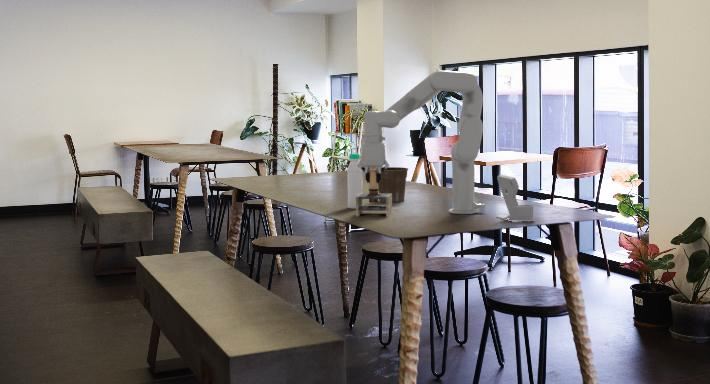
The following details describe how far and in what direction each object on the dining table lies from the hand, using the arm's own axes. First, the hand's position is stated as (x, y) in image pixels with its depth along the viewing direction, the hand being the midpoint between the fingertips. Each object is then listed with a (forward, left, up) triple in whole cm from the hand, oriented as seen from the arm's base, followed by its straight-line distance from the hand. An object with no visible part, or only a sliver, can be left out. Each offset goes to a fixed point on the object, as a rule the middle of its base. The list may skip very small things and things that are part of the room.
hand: (373, 181), depth 361 cm
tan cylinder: (0, 0, -9) cm, 9 cm away
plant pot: (-2, -46, -14) cm, 48 cm away
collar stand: (0, 0, -14) cm, 14 cm away
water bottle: (+12, -22, -14) cm, 29 cm away
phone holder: (-60, +11, -14) cm, 63 cm away
